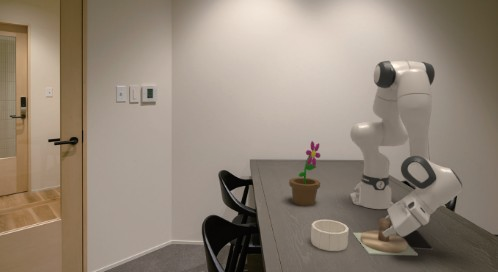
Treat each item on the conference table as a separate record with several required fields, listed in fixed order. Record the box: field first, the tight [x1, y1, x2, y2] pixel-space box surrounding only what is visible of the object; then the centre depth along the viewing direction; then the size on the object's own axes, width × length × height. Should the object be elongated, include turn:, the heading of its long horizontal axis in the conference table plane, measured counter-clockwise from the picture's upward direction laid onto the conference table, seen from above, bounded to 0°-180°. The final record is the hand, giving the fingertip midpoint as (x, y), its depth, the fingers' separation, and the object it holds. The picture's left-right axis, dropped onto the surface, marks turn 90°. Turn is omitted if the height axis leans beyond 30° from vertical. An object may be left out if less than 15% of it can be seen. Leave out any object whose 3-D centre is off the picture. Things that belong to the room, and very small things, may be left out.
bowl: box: [310, 219, 350, 252], centre depth 116 cm, size 12×12×6 cm
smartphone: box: [402, 229, 433, 251], centre depth 121 cm, size 7×1×15 cm
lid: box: [361, 217, 407, 253], centre depth 116 cm, size 15×15×8 cm
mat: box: [352, 232, 419, 257], centre depth 117 cm, size 16×16×1 cm
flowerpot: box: [288, 140, 321, 207], centre depth 157 cm, size 14×14×30 cm
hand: (382, 230), depth 116 cm, fingers open, 6 cm apart
